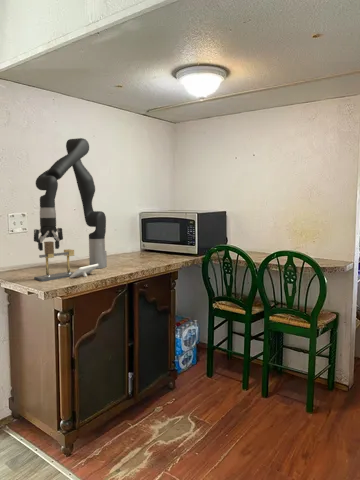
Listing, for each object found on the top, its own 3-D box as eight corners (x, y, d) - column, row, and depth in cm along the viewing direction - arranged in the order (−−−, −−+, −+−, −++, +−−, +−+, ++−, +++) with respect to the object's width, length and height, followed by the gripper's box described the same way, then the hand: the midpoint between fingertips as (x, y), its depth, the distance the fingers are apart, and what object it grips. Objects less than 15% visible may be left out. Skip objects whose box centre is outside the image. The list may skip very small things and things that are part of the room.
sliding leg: (49, 274, 189) (48, 241, 187) (54, 275, 186) (53, 241, 184) (44, 274, 187) (42, 241, 185) (49, 276, 183) (47, 242, 182)
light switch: (82, 274, 186) (101, 269, 199) (78, 266, 187) (97, 262, 200) (73, 283, 190) (92, 278, 203) (68, 275, 191) (87, 270, 204)
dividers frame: (69, 271, 198) (68, 249, 197) (74, 272, 195) (74, 249, 194) (36, 276, 185) (35, 252, 184) (41, 278, 181) (40, 253, 180)
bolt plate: (69, 273, 201) (69, 270, 201) (77, 275, 196) (77, 272, 196) (34, 279, 186) (34, 276, 186) (42, 281, 181) (42, 278, 181)
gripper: (57, 216, 191) (58, 247, 192) (30, 217, 180) (31, 250, 182) (65, 216, 186) (66, 248, 187) (38, 217, 175) (39, 251, 177)
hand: (49, 249), depth 184 cm, fingers open, 8 cm apart
